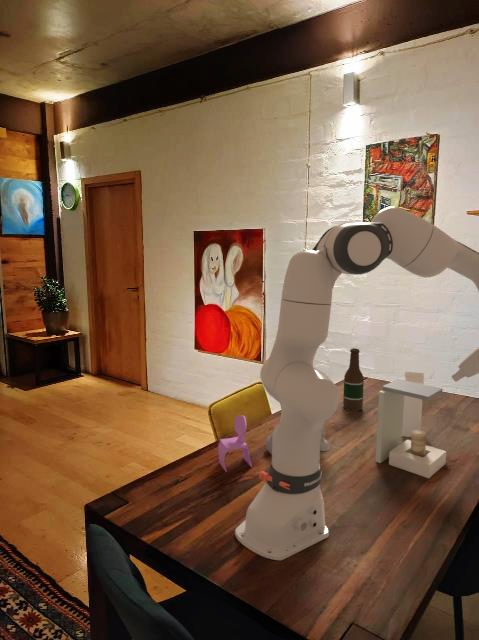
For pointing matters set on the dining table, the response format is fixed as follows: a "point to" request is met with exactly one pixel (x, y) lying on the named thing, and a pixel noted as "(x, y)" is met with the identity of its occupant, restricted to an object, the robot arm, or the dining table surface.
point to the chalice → (323, 441)
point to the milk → (412, 406)
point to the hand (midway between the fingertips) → (461, 374)
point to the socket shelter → (392, 429)
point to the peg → (418, 443)
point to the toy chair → (235, 442)
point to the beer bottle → (353, 384)
